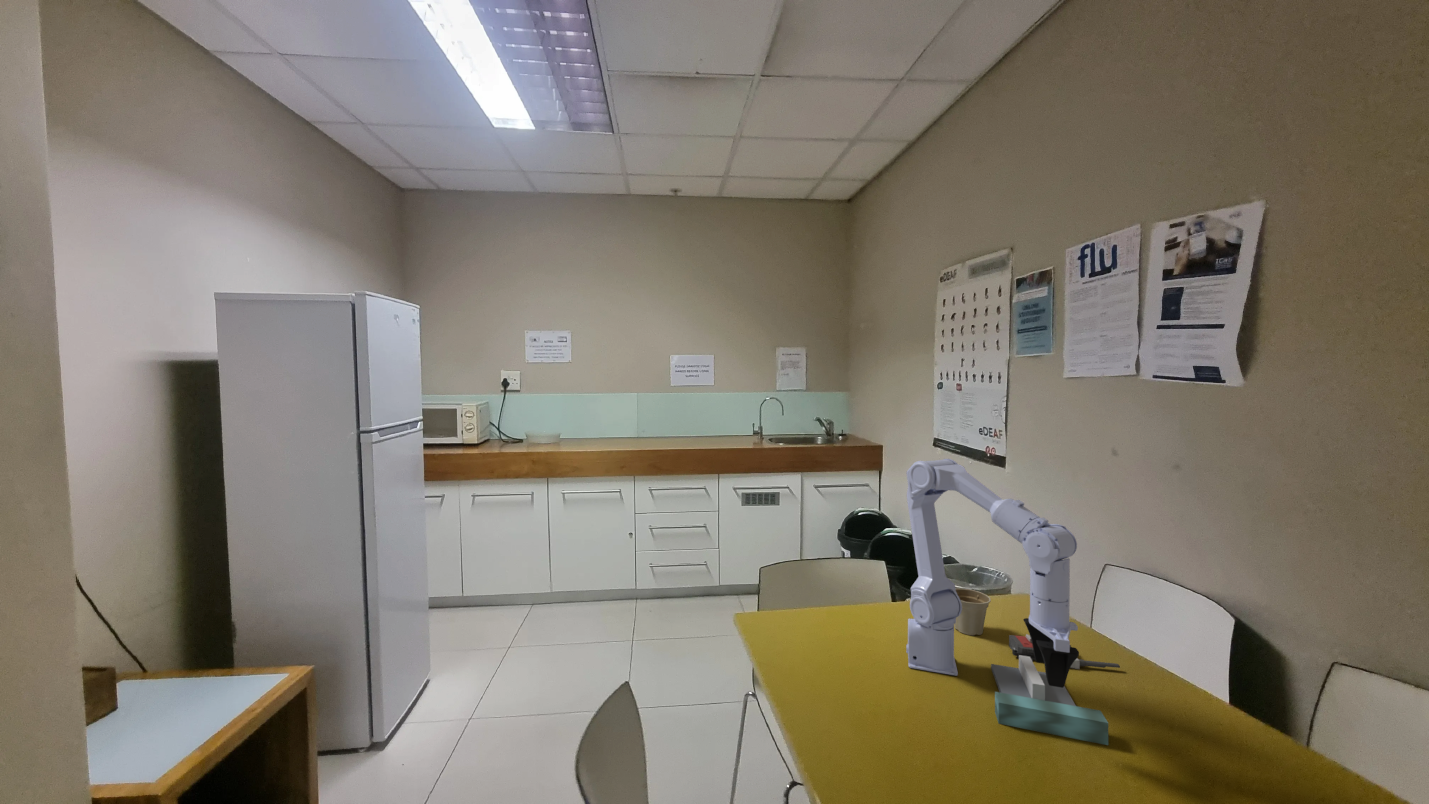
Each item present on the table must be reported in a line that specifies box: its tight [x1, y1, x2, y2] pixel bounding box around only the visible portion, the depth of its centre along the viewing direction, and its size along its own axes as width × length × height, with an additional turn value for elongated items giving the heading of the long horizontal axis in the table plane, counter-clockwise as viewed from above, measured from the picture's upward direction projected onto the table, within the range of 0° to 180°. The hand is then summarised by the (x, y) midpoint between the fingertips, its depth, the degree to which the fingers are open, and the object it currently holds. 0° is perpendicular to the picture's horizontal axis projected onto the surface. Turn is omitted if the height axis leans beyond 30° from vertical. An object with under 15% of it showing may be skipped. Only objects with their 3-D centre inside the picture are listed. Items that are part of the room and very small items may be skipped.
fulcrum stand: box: [990, 655, 1077, 706], centre depth 98 cm, size 12×12×4 cm
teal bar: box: [994, 691, 1109, 746], centre depth 87 cm, size 16×4×4 cm, turn 70°
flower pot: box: [954, 588, 992, 636], centre depth 123 cm, size 9×9×9 cm
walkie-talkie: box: [1008, 633, 1121, 670], centre depth 110 cm, size 9×4×20 cm
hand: (1049, 673), depth 87 cm, fingers open, 7 cm apart
